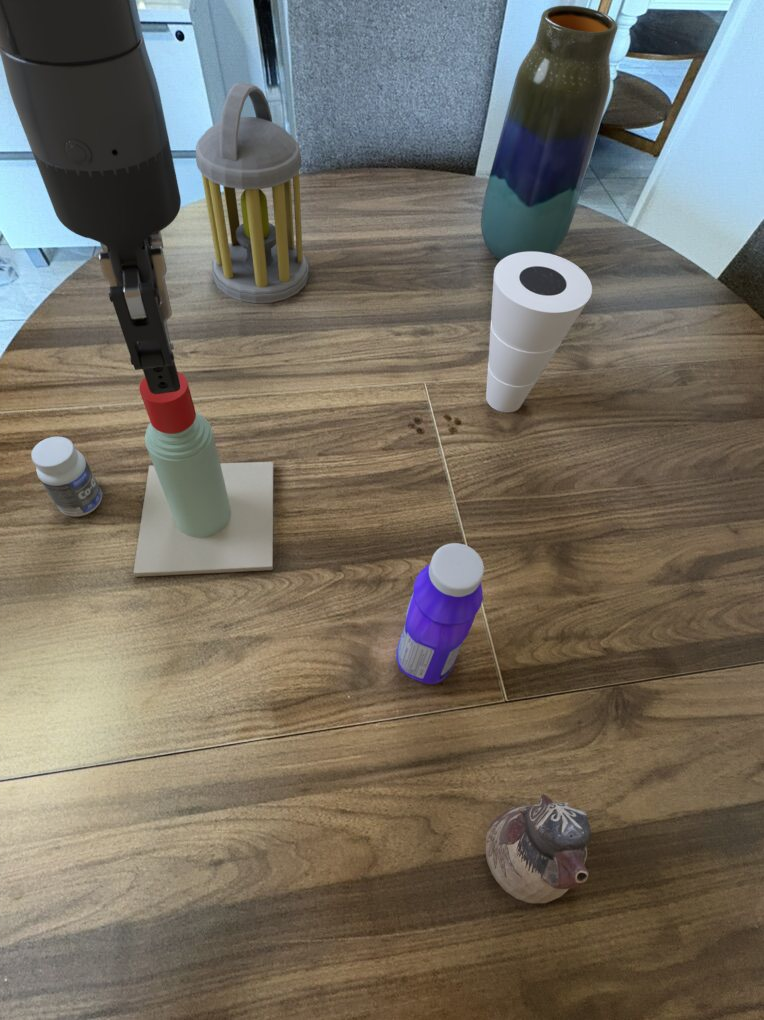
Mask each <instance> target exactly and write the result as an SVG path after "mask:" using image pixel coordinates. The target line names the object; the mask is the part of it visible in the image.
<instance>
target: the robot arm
mask: <svg viewBox="0 0 764 1020" xmlns="http://www.w3.org/2000/svg"><path fill="white" fill-rule="evenodd" d="M139 15H140V14H139V9H138V5H137V0H0V58H1V61H2V65H3V70H4V73H5V78H6V83H7V86H8V90H9V93H10V97H11V100H12V102H13V106H14V108H15V111H16V113H17V116H18V119H19V121H20V124H21V126H22V129H23V132H24V134H25V137H26V139H27V141H28V144H29V148H30V150H31V152H32V155H33V157H34V160H35V164H36V165H37V168H38V171H39V174H40V177H41V179H42V181H43V184H44V187H45V190H46V192H47V194H48V197H49V201H50V202H51V206H52V208H53V211H54V214H55V215H56V217H57V220H58V221H59V222H60V223H61V224H62V226H64V227H65V228H66V229H67V230H69V231H71V232H72V233H74V234H76V235H77V236H80V237H83V238H86V239H90V240H93V241H96V242H98V243H100V247H101V251H98V260H99V263H100V267H101V271H102V276H103V278H105V279H106V280H107V281H108V284H109V292H108V297H109V301H110V302H111V303H112V304H113V308H114V311H115V314H116V317H117V320H118V323H119V326H120V330H121V332H122V335H123V338H124V341H125V345H126V348H127V350H128V353H129V356H130V357H129V360H130V364H131V366H133V368H134V370H135V371H139V370H142V371H143V375H144V378H146V381H147V384H148V387H149V390H150V392H151V393H153V394H162V393H169V392H176V391H178V390H179V389H180V381H179V376H178V373H177V372H178V370H177V366H176V362H175V356H174V352H173V350H174V349H175V348H174V343H173V341H171V338H170V333H169V327H168V323H167V322H168V320H169V319H170V318H171V317H172V313H173V312H172V311H173V310H172V307H171V306H172V305H171V301H170V297H169V291H168V287H167V283H166V278H165V277H166V274H167V270H168V269H167V268H168V267H167V263H166V259H165V254H164V248H165V246H164V242H163V237H162V231H163V230H164V229H166V228H167V227H168V226H170V225H171V224H172V223H173V221H175V219H176V218H177V216H178V215H179V212H180V210H181V206H182V205H181V204H182V199H181V194H180V188H179V183H178V178H177V173H176V168H175V164H174V159H173V158H174V157H173V153H172V149H171V144H170V138H169V132H168V128H167V123H166V119H165V115H164V108H163V104H162V99H161V93H160V89H159V85H158V81H157V78H156V75H155V71H154V68H153V65H152V62H151V60H150V56H149V53H148V50H147V46H146V43H145V38H144V34H143V28H142V25H141V19H140V16H139Z"/></svg>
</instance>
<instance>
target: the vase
mask: <svg viewBox="0 0 764 1020" xmlns="http://www.w3.org/2000/svg"><path fill="white" fill-rule="evenodd" d="M540 16H541V17H540V21H539V25H538V29H537V34H536V36H535V37H536V38H535V41H534V43H533V44H532V46H531V48H530V49H529V51H528V52H527V54H526V55H525V57H524V58H523V60H522V62H520V63H521V64H520V65H519V67H518V69H517V73H516V76H515V79H514V82H513V86H512V90H511V94H510V98H509V101H508V105H507V109H506V113H505V115H504V116H505V117H504V120H503V124H502V128H501V131H500V135H499V139H498V143H497V147H496V151H495V153H494V158H493V162H492V166H491V169H490V173H489V177H488V180H487V181H488V182H487V185H486V189H485V192H484V193H485V194H484V197H483V201H482V202H483V203H482V208H481V216H480V230H481V235H482V238H483V241H484V244H485V245H486V248H487V250H488V251H489V253H490V254H491V255H492V256H493V258H496V259H497V260H498V261H499V262H500V261H501V260H502V259H504V258H505V257H507V256H509V255H512V254H515V253H520V252H543V253H549V254H553V255H554V254H555V252H556V251H558V249H559V248H560V247H561V245H562V244H563V242H564V240H565V238H566V236H567V234H568V232H569V230H570V227H571V224H572V222H573V219H574V216H575V212H576V209H577V207H578V203H579V200H580V196H581V192H582V189H583V187H584V182H585V179H586V175H587V171H588V168H589V165H590V161H591V158H592V154H593V150H594V147H595V144H596V140H597V136H598V133H599V130H600V126H601V122H602V119H603V116H604V113H605V108H606V104H607V101H608V97H609V94H610V90H611V89H610V88H611V64H610V55H611V51H612V48H613V46H614V43H615V42H614V41H615V38H616V35H617V32H618V24H617V22H616V20H615V19H613V18H612V17H611V16H610V15H608V14H606V13H604V12H601V11H599V10H597V9H593V8H589V7H584V6H578V5H555V6H551V7H549V8H547V9H545V10H544V11H543V12H542V13H541V15H540Z"/></svg>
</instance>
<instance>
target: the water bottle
mask: <svg viewBox="0 0 764 1020" xmlns="http://www.w3.org/2000/svg"><path fill="white" fill-rule="evenodd" d="M195 412H196V418H195V421H194V423H193V424H192V425H191V426H190V427H189V428H188V429H186V430H184V431H182V432H178V433H172V434H169V433H163V432H160V431H158V430H156V429H155V428H154V427H153V426H152V424H151V422H149V423H148V425H147V427H146V430H145V435H144V444H145V447H146V449H147V452H148V455H149V458H150V461H151V463H152V465H154V468H155V471H156V473H157V476H158V478H159V481H160V484H161V486H162V489H163V491H164V494H165V497H166V499H167V502H168V505H169V507H170V510H171V512H172V515H173V518H174V520H175V523H176V525H177V527H178V528H179V530H181V531H182V532H183V533H185V534H186V535H189V536H192V537H208V536H211V535H214V534H216V533H218V532H219V531H221V530H222V529H223V528H224V527H225V526H226V525H227V523H228V522H229V520H230V517H231V507H230V503H229V499H228V494H227V490H226V486H225V482H224V477H223V473H222V469H221V465H220V463H221V461H220V457H219V452H218V449H217V448H218V447H217V443H216V439H215V436H214V431H213V428H212V427H213V426H212V425H211V424H210V421H208V420H207V419H206V418H205V416H203V415H202V414H201V413H199V412H198V411H195Z"/></svg>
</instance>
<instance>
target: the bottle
mask: <svg viewBox="0 0 764 1020" xmlns="http://www.w3.org/2000/svg"><path fill="white" fill-rule="evenodd" d="M484 573H485V567H484V562H483V559H482V557H481V556H480V555H479V553H478V552H477V551H476V550H475V549H473V548H472V547H470V546H469V545H466V544H463V543H458V542H452V543H447V544H444V545H442V546H440V547H439V548H438V549H436V551H435V552H433V555H432V557H431V559H430V563H429V564H427V565H426V566H425V567H424V568H423V569H421V570H420V572H419V573H418V575H416V578H415V580H414V583H413V592H412V594H411V597H410V599H409V602H408V605H407V610H406V616H405V622H404V626H403V629H402V632H401V635H400V638H399V640H398V644H397V647H396V663H397V666H398V668H399V670H400V672H402V674H404V675H405V676H406V677H407V678H410V679H412V680H414V681H417V682H420V683H422V684H426V685H435V684H439V683H441V682H442V681H444V680H445V679H446V678H447V677H448V676H449V674H450V673H451V671H452V670H453V668H454V665H455V663H456V660H457V659H458V654H459V652H460V651H461V648H462V646H463V643H464V641H465V640H466V638H467V637H468V634H469V632H470V630H471V629H472V626H473V623H474V621H475V618H476V615H477V613H478V612H479V611H480V609H481V606H482V605H483V600H484V595H483V594H484V593H483V592H484V591H483V587H482V583H481V582H482V579H483V577H484Z"/></svg>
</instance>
